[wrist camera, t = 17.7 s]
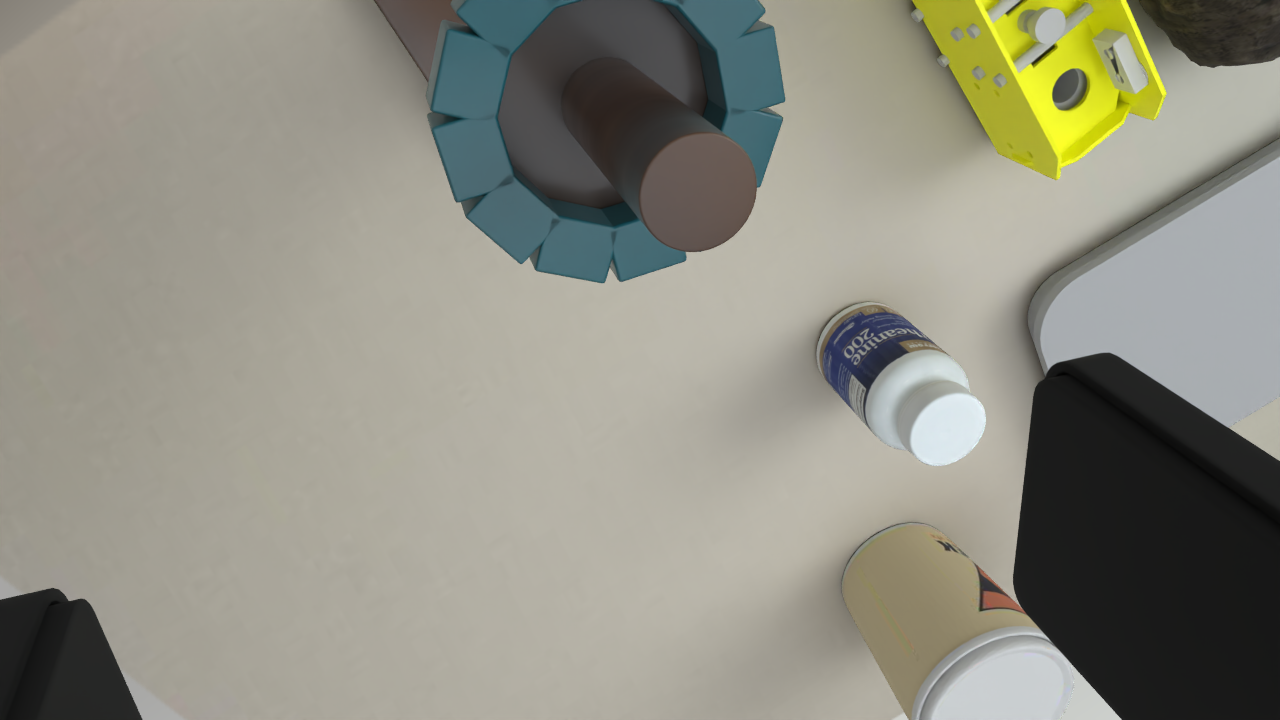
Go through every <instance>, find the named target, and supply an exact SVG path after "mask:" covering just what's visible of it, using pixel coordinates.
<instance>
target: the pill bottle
mask: <svg viewBox="0 0 1280 720" xmlns="http://www.w3.org/2000/svg"><path fill="white" fill-rule="evenodd" d="M816 358H817V364H818V367H819V370H820V372H821V374H822V375H823V377H824V378H825V380H826V381H827V382H828V383H829V384H830V386H831V387H832V388H833V389H834V390H835V391H836V392H837V393H838V394H839V396H840V397H841V398H842V399H843V400H844V401H845V402H846V403H847V404H848V406H849V407H850V408H851V409H852V410H853V411H854V412H855V413H856V415H857V416H858V417H859V418H860V419H861V420H862V421H863V422H864V423H865V424H866V426H867V427H868V428H869V429H870V430H871V431H872V432H873V434H874V435H875V436H876V437H878V438H879V439H880V440H881V441H882V442H884V443H885V444H887V445H888V446H891V447H893V448H896V449H900V450H908V451H909V452H910V453H912V454H913V455H914V456H915V457H916V458H917V459H918V460H919V461H921V462H923V463H925V464H927V465H931V466H943V465H948V464H951V463H954V462H956V461H958V460H959V459H961V458H963V457H964V456H966V455H967V454H968V453H969V452H970V451H971V450H972V449H973V448H974V447H975V446H976V445H977V443H978V442H979V440H980V438H981V436H982V434H983V432H984V428H985V423H986V415H985V410H984V408H983V406H982V404H981V403H980V401H979V400H978V399H977V398H976V397H975V396H974V395H973V394H972V393H971V392H970V391H969V383H968V379H967V376H966V374H965V372H964V370H963V369H962V368H961V366H960V365H959V364H958V363H957V362H956V361H955V360H954V359H953V358H952V357H951V356H950V355H948V354H947V353H946V352H944V351H943V350H942V349H941V348H939V347H938V346H937V345H936V344H935V343H933V342H932V341H931V340H930V339H929V338H928V337H926V336H925V335H924V334H923V333H922V332H920V331H919V330H918V329H917V328H916V327H914V326H913V325H912V324H911V323H910V322H909V321H907V320H906V319H905V318H904V317H903V316H901V315H900V314H899V313H898V312H896V311H895V310H894V309H892V308H891V307H889V306H887V305H884V304H881V303H876V302H865V303H859V304H855V305H853V306H850V307H848V308H846V309H844V310H843V311H841V312H840V313H839V314H837V315H836V316H835V317H833V318H832V319H831V321H830V322H829V323H828V324H827V326H826V327H825V329H824V330H823V332H822V334H821V336H820V339H819V342H818V345H817V352H816Z"/></svg>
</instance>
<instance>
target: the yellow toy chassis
mask: <svg viewBox="0 0 1280 720" xmlns="http://www.w3.org/2000/svg"><path fill="white" fill-rule="evenodd" d="M912 1H913V3H914V5H915V7H916V9H915V10H914V11H913V12H912V13H911V15H912V17H913V19H914V20H915V21H917V22H919V21H921V20H922V19H923V21H924V22H925V24H926V26H927V28H928V30H929V31H930V33H931V35H932V37H933V38H934V40H935V42H936V44H937V46H938V47H939V49H940V51H941V53H942V55H941V56H940V57H938V58H937V61H938V63H939V64H940V65H941V66H942V67H945V66H947V65H949V67H950V69H951V70H952V72H953V74H954V76H955V77H956V79H957V81H958V83H959V85H960V86H961V88H962V90H963V92H964V93H965V95H966V97H967V99H968V101H969V102H970V104H971V106H972V108H973V109H974V111H975V113H976V115H977V117H978V118H979V120H980V122H981V124H982V125H983V127H984V129H985V131H986V132H987V134H988V136H989V138H990V140H991V141H992V143H993V145H994V147H995V148H996V150H997V152H998V154H1000V155H1002V156H1005V157H1007V158H1009V159H1011V160H1013V161H1015V162H1018V163H1020V164H1022V165H1024V166H1026V167H1028V168H1031V169H1033V170H1035V171H1037V172H1039V173H1041V174H1044V175H1046V176H1048V177H1050V178H1052V179H1054V180H1058V179H1059V178H1060V172H1061V168H1062V167H1064V166H1066V165H1069V164H1071V163H1074V162H1076V161H1078V160H1079V159H1081V158H1082V157H1083V156H1084V155H1086V154H1087V153H1088V152H1089V151H1090V150H1092V149H1093V148H1094V147H1095V146H1097V145H1098V144H1099V143H1100V142H1102V141H1103V140H1104V139H1105V138H1107V137H1108V136H1109V135H1110V134H1111V133H1113V132H1114V131H1115V130H1116V129H1118V128H1119V127H1120V126H1121V125H1123V123H1124V121H1125V119H1126V117H1127V115H1128V113H1132V114H1135V115H1138V116H1141V117H1144V118H1147V119H1150V120H1155V119H1156V118H1157V116H1158V114H1159V111H1160V109H1161V106H1162V104H1163V101H1164V99H1165V96H1166V94H1167V93H1166V91H1165V88H1164V86H1163V84H1162V81H1161V79H1160V77H1159V74H1158V72H1157V70H1156V68H1155V65H1154V63H1153V61H1152V58H1151V56H1150V54H1149V52H1148V49H1147V47H1146V45H1145V42H1144V40H1143V38H1142V36H1141V33H1140V31H1139V29H1138V26H1137V24H1136V22H1135V19H1134V17H1133V15H1132V13H1131V10H1130V8H1129V6H1128V3H1127V1H1126V0H912ZM1139 62H1140V63H1141V64H1142V65H1143V67H1144V68H1145V70H1146V72H1147V75H1148V81H1147V79H1146V77H1145V74H1144V72H1143V70H1142V68H1141V65H1140V63H1139Z"/></svg>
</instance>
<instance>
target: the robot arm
mask: <svg viewBox="0 0 1280 720" xmlns="http://www.w3.org/2000/svg"><path fill="white" fill-rule="evenodd" d="M1013 585H1014V590H1015V594H1016V597H1017V600H1018V602H1019V604H1020V605H1021V607H1022V609H1023V610H1024V611H1025V613H1026V614H1027V615H1028V616H1029V617H1030V619H1031V620H1032V621H1033V622H1034V623H1035V624H1036V625H1037V626H1038V627H1039V629H1040V630H1041V631H1042V632H1043V633H1044V634H1045V635H1046V636H1047V637H1048V638H1049V640H1050V641H1051V642H1052V643H1053V644H1054V645H1055V646H1056V647H1057V648H1058V650H1059V651H1060V652H1061V653H1062V654H1063V655H1064V656H1065V657H1066V658H1067V659H1068V661H1069V662H1070V663H1071V664H1072V665H1073V666H1074V667H1075V668H1076V669H1077V671H1078V672H1079V673H1080V674H1081V675H1082V676H1083V677H1084V678H1085V679H1086V681H1087V682H1088V683H1089V684H1090V685H1091V686H1092V687H1093V688H1094V689H1095V690H1096V692H1097V693H1098V694H1099V695H1100V696H1101V697H1102V698H1103V699H1104V700H1105V702H1106V703H1107V704H1108V705H1109V706H1110V707H1111V708H1112V709H1113V710H1114V711H1115V713H1116V714H1117V715H1118V716H1119V717H1120V718H1121V719H1122V720H1280V461H1279V460H1277V459H1276V458H1274V457H1272V456H1271V455H1269V454H1268V453H1266V452H1265V451H1263V450H1262V449H1260V448H1259V447H1257V446H1256V445H1254V444H1252V443H1251V442H1249V441H1248V440H1246V439H1245V438H1243V437H1242V436H1240V435H1239V434H1237V433H1236V432H1234V431H1232V430H1231V429H1229V428H1228V427H1226V426H1225V425H1223V424H1222V423H1220V422H1219V421H1217V420H1216V419H1214V418H1212V417H1211V416H1209V415H1208V414H1206V413H1205V412H1203V411H1202V410H1200V409H1199V408H1197V407H1196V406H1194V405H1192V404H1191V403H1189V402H1188V401H1186V400H1185V399H1183V398H1182V397H1180V396H1179V395H1177V394H1176V393H1174V392H1172V391H1171V390H1169V389H1168V388H1166V387H1165V386H1163V385H1162V384H1160V383H1159V382H1157V381H1156V380H1154V379H1152V378H1151V377H1149V376H1148V375H1146V374H1145V373H1143V372H1142V371H1140V370H1139V369H1137V368H1136V367H1134V366H1132V365H1131V364H1129V363H1128V362H1126V361H1125V360H1123V359H1122V358H1120V357H1119V356H1117V355H1114V354H1112V353H1110V352H1108V353H1098V354H1093V355H1089V356H1084V357H1080V358H1075V359H1071V360H1066V361H1062V362H1058V363H1056V364H1054V365H1052V366H1051V367H1050V369H1049V370H1048V372H1047V373H1046V377H1045V379H1044V380H1042V381H1040V382H1039V383H1038V385H1037V386H1036V388H1035V392H1034V396H1033V405H1032V414H1031V423H1030V432H1029V441H1028V449H1027V458H1026V467H1025V476H1024V485H1023V494H1022V503H1021V511H1020V520H1019V529H1018V538H1017V547H1016V556H1015V564H1014V573H1013ZM0 720H142V718H141V715H140V713H139V711H138V709H137V706H136V704H135V702H134V700H133V698H132V695H131V693H130V691H129V688H128V686H127V684H126V682H125V680H124V677H123V675H122V673H121V671H120V668H119V666H118V664H117V662H116V659H115V657H114V655H113V653H112V650H111V648H110V646H109V644H108V641H107V639H106V637H105V635H104V632H103V630H102V628H101V626H100V623H99V621H98V619H97V617H96V614H95V612H94V610H93V608H92V607H91V605H90V603H88V602H87V601H86V600H85V599H77V600H73V601H68V599H67V598H66V596H65V595H64V594H63V593H62V592H61V591H60V590H59V589H55V588H51V589H46V590H42V591H37V592H33V593H28V594H24V595H19V596H15V597H11V598H6V599H2V600H0Z"/></svg>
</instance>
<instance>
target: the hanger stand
mask: <svg viewBox="0 0 1280 720" xmlns="http://www.w3.org/2000/svg"><path fill="white" fill-rule="evenodd" d="M374 1H375V2H376V4H377V5H378V7H379V8H380V10H381V11H382V13H383V15H384V16H385V18H386V19H387V21H388V22H389V24H390V25H391V27H392V28H393V30H394V31H395V33H396V34H397V36H398V37H399V39H400V40H401V42H402V43H403V45H404V46H405V48H406V49H407V51H408V52H409V54H410V56H411V57H412V59H413V60H414V62H415V63H416V65H417V66H418V68H419V69H420V71H421V72H422V74H423V75H424V77H425V78H426V80H427V81H428V82H429V78H430V73H431V68H432V63H433V58H434V53H435V48H436V43H437V38H438V34H439V29H440V24H441V21H442V20H448V21H452V22H455V23H459V24H463V25H467V24H466V23H465V22H464V21H463V20H462V19H461V18H460V17H459V16H458V15H457V14H456V13H455V11H454V10H453V8H452V7H451V5H450V4H451V1H452V0H374ZM467 26H468V25H467ZM707 102H708V95H707V90H706V85H705V80H704V75H703V70H702V65H701V60H700V55H699V49H698V44H697V42H696V41H695V39H694V38H693V37H692V36H691V35H690V34H689V33H688V31H687V30H686V29H685V28H684V27H683V26H682V25H681V24H680V22H679V21H678V20H677V19H676V18H675V17H674V16H673V14H672V13H671V12H670V11H669V10H668V9H667V8H666V6H665V5H664V4H662V3H659V2H655V1H652V0H583V1H579V2H576V3H572V4H569V5H565V6H562V7H558V8H556V9H555V10H554V11H553V12H552V13H551V14H550V15H549V16H548V17H547V18H546V20H545V21H544V22H543V23H542V24H541V25H540V26H539V27H538V28H537V29H536V30H535V31H534V32H533V33H532V35H531V36H530V37H529V38H528V39H527V40H526V41H525V42H524V43H523V44H522V45H521V46H520V47H519V49H518V50H517V51H516V52H515V53H514V54H513V55H512V58H511V62H510V67H509V71H508V75H507V79H506V84H505V88H504V92H503V97H502V101H501V105H500V110H499V114H498V120H499V124H500V127H501V130H502V133H503V137H504V140H505V143H506V147H507V150H508V153H509V157H510V160H511V163H512V165H513V166H514V167H515V168H516V169H517V170H518V171H519V172H521V173H522V174H523V175H524V176H525V177H526V178H527V179H528V180H529V181H530V182H531V183H532V184H534V185H535V186H536V187H537V188H538V189H539V190H540V191H541V192H542V193H543V194H544V195H546V196H547V197H548V198H551V199H555V200H560V201H565V202H569V203H574V204H579V205H583V206H588V207H593V208H598V209H603V208H607V207H610V206H613V205H616V204H619V203H622V202H626V203H627V204H628V206H629V207H630V208H631V209H632V211H633V212H634V213H635V214H636V216H637V217H638V218H639V219H640V221H641V222H642V223H643V224H644V226H645V227H646V228H647V229H648V231H649V232H650V233H651V234H652V235H653V236H654V237H655V238H656V239H657V240H658V241H659V242H661V243H662V244H664V245H666V246H667V247H670V248H672V249H675V250H679V251H685V252H698V251H704V250H708V249H712V248H714V247H717V246H719V245H721V244H723V243H724V242H726V241H727V240H729V239H730V238H731V237H733V236H734V235H735V234H736V233H737V232H738V231H739V230H740V229H741V227H742V226H743V225H744V223H745V222H746V221H747V219H748V217H749V215H750V213H751V211H752V208H753V206H754V202H755V198H756V191H757V180H756V173H755V169H754V166H753V164H752V161H751V159H750V158H749V156H748V154H747V153H746V152H745V150H744V149H743V148H742V147H741V146H740V145H739V144H738V143H737V142H735V141H734V140H733V139H731V138H730V137H728V136H727V135H726V134H724V133H723V132H722V131H720V130H719V129H718V128H716V127H715V126H714V125H712V124H711V123H710V122H708V121H707V120H706V119H704V118H703V115H704V112H705V109H706V105H707Z"/></svg>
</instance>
